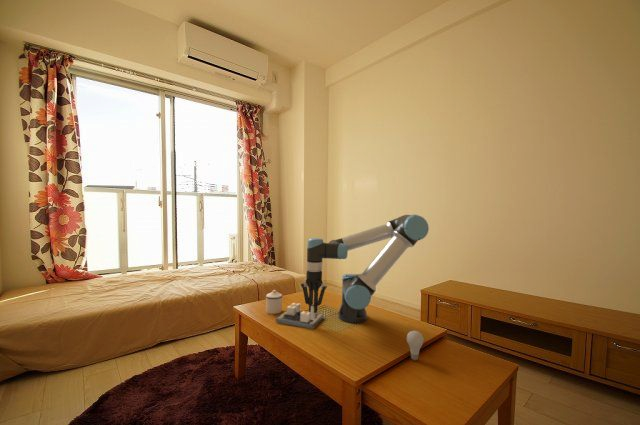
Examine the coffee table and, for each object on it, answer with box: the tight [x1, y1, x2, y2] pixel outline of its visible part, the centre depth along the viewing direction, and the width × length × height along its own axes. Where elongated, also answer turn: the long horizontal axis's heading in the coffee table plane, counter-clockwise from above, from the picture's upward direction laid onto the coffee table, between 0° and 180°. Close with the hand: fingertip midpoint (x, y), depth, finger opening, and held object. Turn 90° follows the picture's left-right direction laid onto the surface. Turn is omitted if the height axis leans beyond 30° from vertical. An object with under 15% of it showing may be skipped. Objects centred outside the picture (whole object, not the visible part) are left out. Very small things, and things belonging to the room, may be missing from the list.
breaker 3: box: [300, 310, 310, 323], centre depth 136 cm, size 4×3×4 cm
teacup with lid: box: [265, 289, 283, 315], centre depth 155 cm, size 12×9×12 cm
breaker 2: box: [290, 302, 301, 312], centre depth 149 cm, size 4×3×4 cm
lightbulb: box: [406, 330, 425, 361], centre depth 106 cm, size 6×6×11 cm
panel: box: [275, 310, 324, 330], centre depth 143 cm, size 20×15×3 cm
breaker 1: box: [286, 305, 296, 316], centre depth 144 cm, size 4×3×4 cm
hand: (312, 318), depth 135 cm, fingers closed
